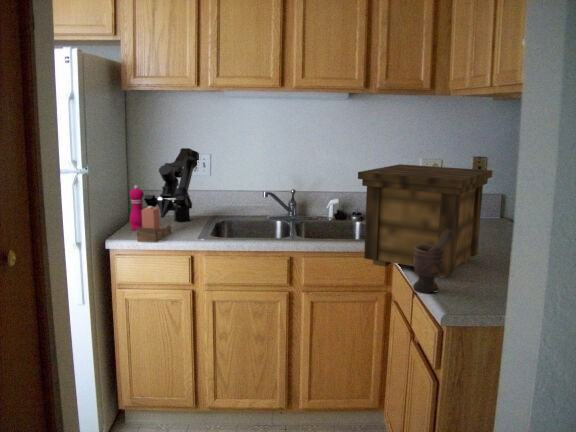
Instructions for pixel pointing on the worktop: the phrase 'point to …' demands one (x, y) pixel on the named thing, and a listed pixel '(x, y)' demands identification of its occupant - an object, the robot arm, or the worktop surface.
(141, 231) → the brown wooden box
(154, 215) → the salmon orange block
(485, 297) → the worktop surface
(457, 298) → the worktop surface
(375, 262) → the crate
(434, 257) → the mortar and pestle
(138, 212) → the pepper mill
